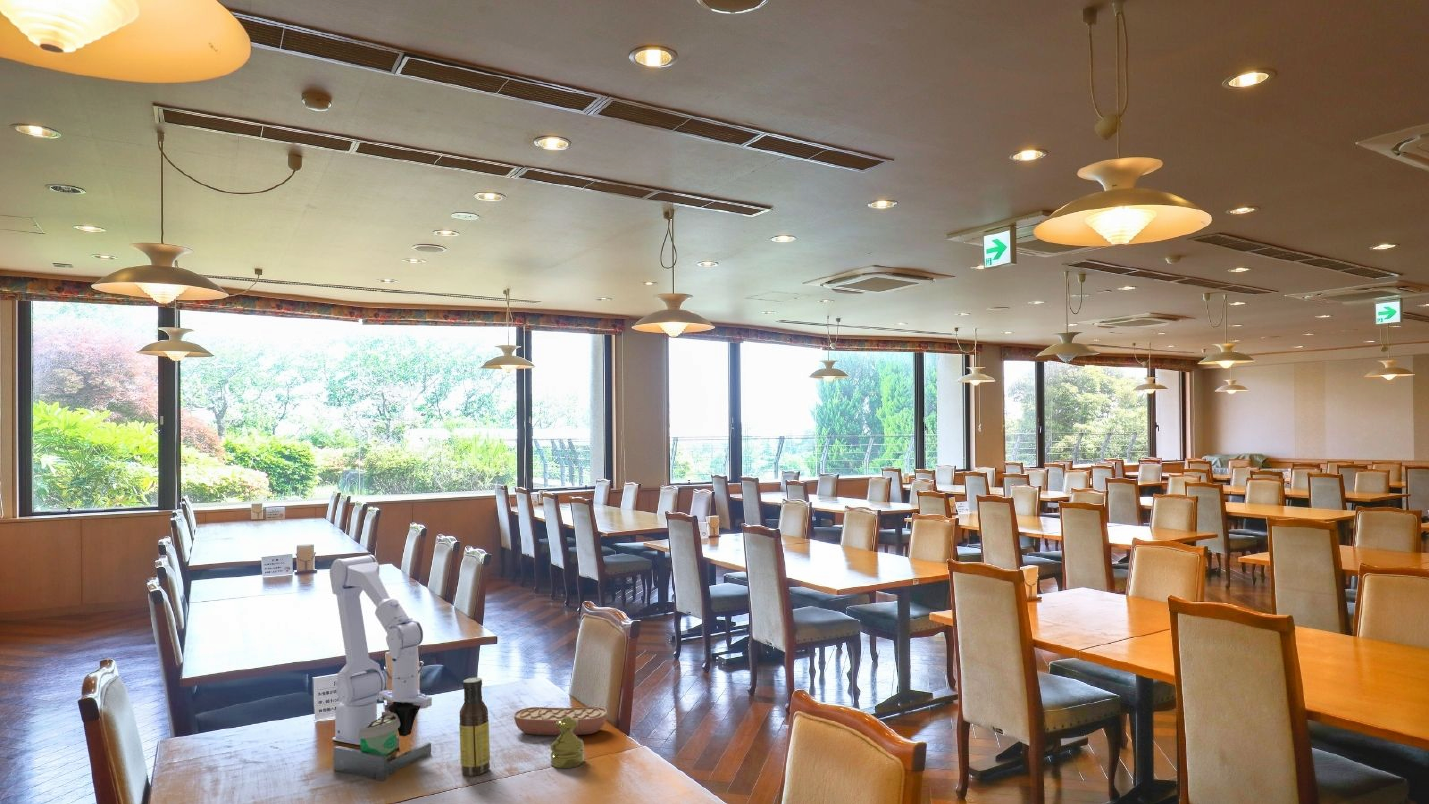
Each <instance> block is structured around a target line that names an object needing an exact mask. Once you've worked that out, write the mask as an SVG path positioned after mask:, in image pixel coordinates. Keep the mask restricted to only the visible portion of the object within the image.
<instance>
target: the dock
mask: <svg viewBox="0 0 1429 804" xmlns="http://www.w3.org/2000/svg"><path fill="white" fill-rule="evenodd" d="M399 748H400V736H397V744H396V750H397V749H399ZM429 754H430V755H431V754H432V743H431V742H429V741H427V742H426V743H423V744H422V745H418V746H416V747H414V748H412V749H410V750H408V751H405V752H403V753H401V754H399V755H396V757H394V758H392V759H390V760H388V761H387V756H386V755H381V754H376V753H371V752H366V751H361V749H356V748H352V747H351V748H349V747H345V746H341V745H340V746H339V745H336V746H333V771H335V772H340V773H345V774H350V775H353V776H358V777H363V778H367V779H368V778H369V779H373V780H377V781H382V782H385V781H387V780H388V775H390V774H391V773H393V772H396V771H398V770H400V769H402V768H404V767H406V766H408V765H411V764H412V763H414V762H417V761H419V760H422V759H423V758H425V757H428V756H430V755H429ZM427 755H428V756H427Z"/></svg>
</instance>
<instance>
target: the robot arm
mask: <svg viewBox="0 0 1429 804" xmlns="http://www.w3.org/2000/svg"><path fill="white" fill-rule="evenodd" d="M328 572H329V578H330V583H331V585H330V586H331V590H332V594H333V595H336V601H337V607H338V615H339V619H340V620H339V621H340V626H341V627H340V628H341V633H342V639H343V647H344V653H345V654H344V655H345V659H346V660H345V662H346V664H345V665H344V666H343V667H342V668H341V669H340V671H338V672H337V675H336V679H337V681H336V682H337V685H336V695H337V698H338V700H339V704H338V705H337V707H336V710H335V715H334V716H335V718H334V719H335V720H334V723H335V725H334V728H335V729H334V733H335V734H334V737H332V740H333V741H334V742H335V741H337V742H341V743H344V744H345V743H347V744H349V745H350V744H352V745H357V746H361V742H360V739H359V732H360V729H361V728H367V727H368V726H369V725H370V724H371V723H372V722H373V721H376V720H378V702H377V701H379V702H380V701H381V702H384V701H387V702H392V704H391V705H389V706H388V712H392V713H395V714H397V716H398V718H399V721H400V727H399V728H398V729H397V733H398V737H406V736H409V735H411V734H412V729H413V727H414V722H415V720H416V716H417V714H418V712H419V710H420V708H421V707H422V708H425V709H427V708H429V707H431V706H432V705H433V701H432V699H433V697H432V696H428V695H425V694H424V693H421V690H420V689H419V647H418V646H419V645H421V644H422V643H423V639H424V632H423V631H424V630H423V627H422V625H421V624H420V622H419V621H418V620H414V618H410V617H409V616H408V614H407V612H405V610H404V608H403V607H402V605H401V603H399V601H398V600H397V599H394V598H391V596H390V595H389V593H388V591H387V589H386V587H385V586H384V583H383V581H382V579H381V578H380V576H379V575H380V563H379V562H378V560H377V559H376V557H375V556H374V555H373V554H367V555H361V556H353V557H347V558H336V559H335V560H333V562H332V563H331V567H330V569H329V571H328ZM362 592H364V593H365V594H366V595H367V597H368V598H369V599H370V601H371V602H372V603H373V605H375V607H376V608H375V612H374V615H375V616H376V618H377V619H378V621H379V623H380V624H381V626H382V627H383V629H384V631H385V632H386V634H387V635H386V637H385V640H386V641H385V642H386V645H387V647H388V650H389V651H388V655H389V658H391V690H388V689H386V690H385V687H386V682H385V677H384V675H383V673H382V669H381V665H380V663H378V662H377V661H375V660H373V659H371V658H370V655H369V649H368V642H367V636H366V627H365V624H364V622H365V621H364V617H363V609H362V604H361V597H360V596H361V593H362ZM361 672H363V673H361ZM357 673H358V674H357ZM359 673H360V674H359ZM354 674H356V675H354Z"/></svg>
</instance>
